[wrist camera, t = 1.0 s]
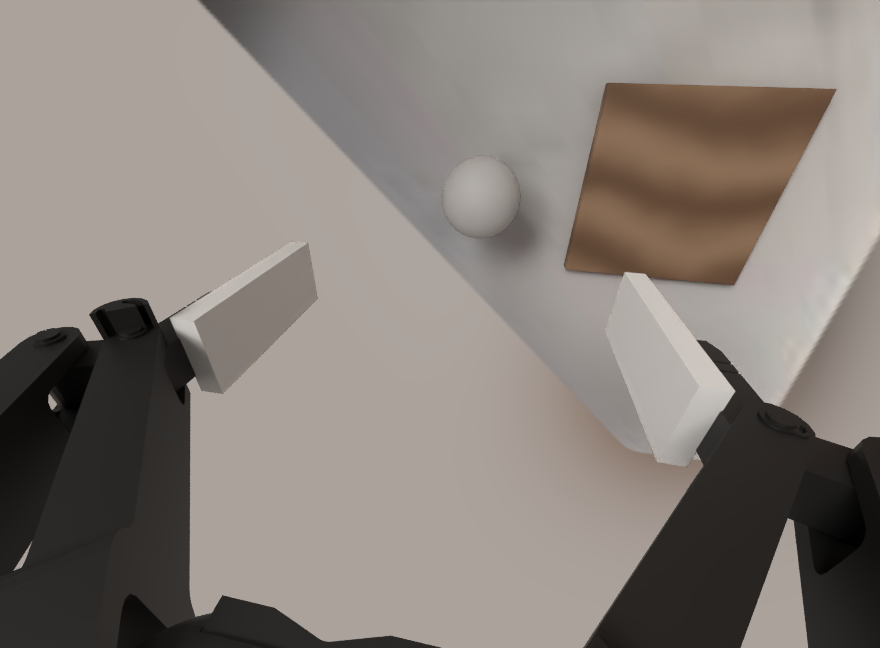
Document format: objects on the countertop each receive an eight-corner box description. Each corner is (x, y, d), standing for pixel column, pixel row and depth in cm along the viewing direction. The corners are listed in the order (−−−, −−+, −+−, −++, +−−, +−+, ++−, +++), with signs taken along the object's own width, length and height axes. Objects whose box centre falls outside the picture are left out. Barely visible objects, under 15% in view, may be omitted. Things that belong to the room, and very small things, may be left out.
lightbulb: (528, 156, 33) (535, 178, 24) (505, 219, 36) (502, 259, 27) (466, 136, 33) (448, 150, 24) (448, 200, 36) (426, 234, 27)
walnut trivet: (606, 83, 29) (609, 82, 28) (824, 89, 27) (836, 89, 26) (564, 264, 38) (565, 269, 37) (727, 279, 36) (733, 285, 35)
